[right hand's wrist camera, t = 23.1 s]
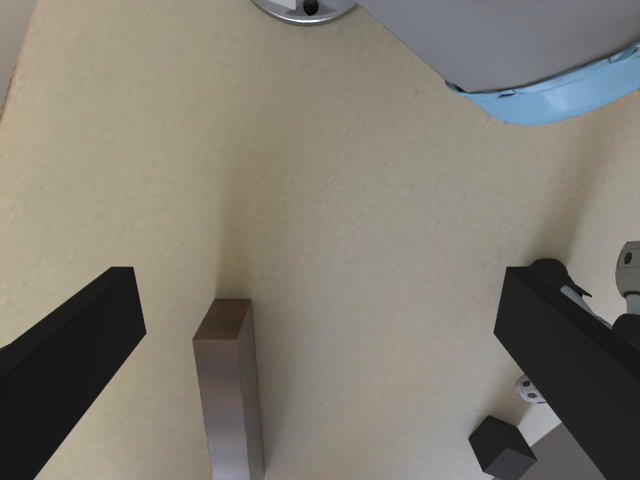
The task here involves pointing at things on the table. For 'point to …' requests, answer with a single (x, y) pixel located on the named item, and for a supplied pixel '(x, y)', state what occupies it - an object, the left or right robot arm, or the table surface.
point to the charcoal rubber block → (501, 449)
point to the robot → (632, 282)
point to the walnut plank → (230, 390)
